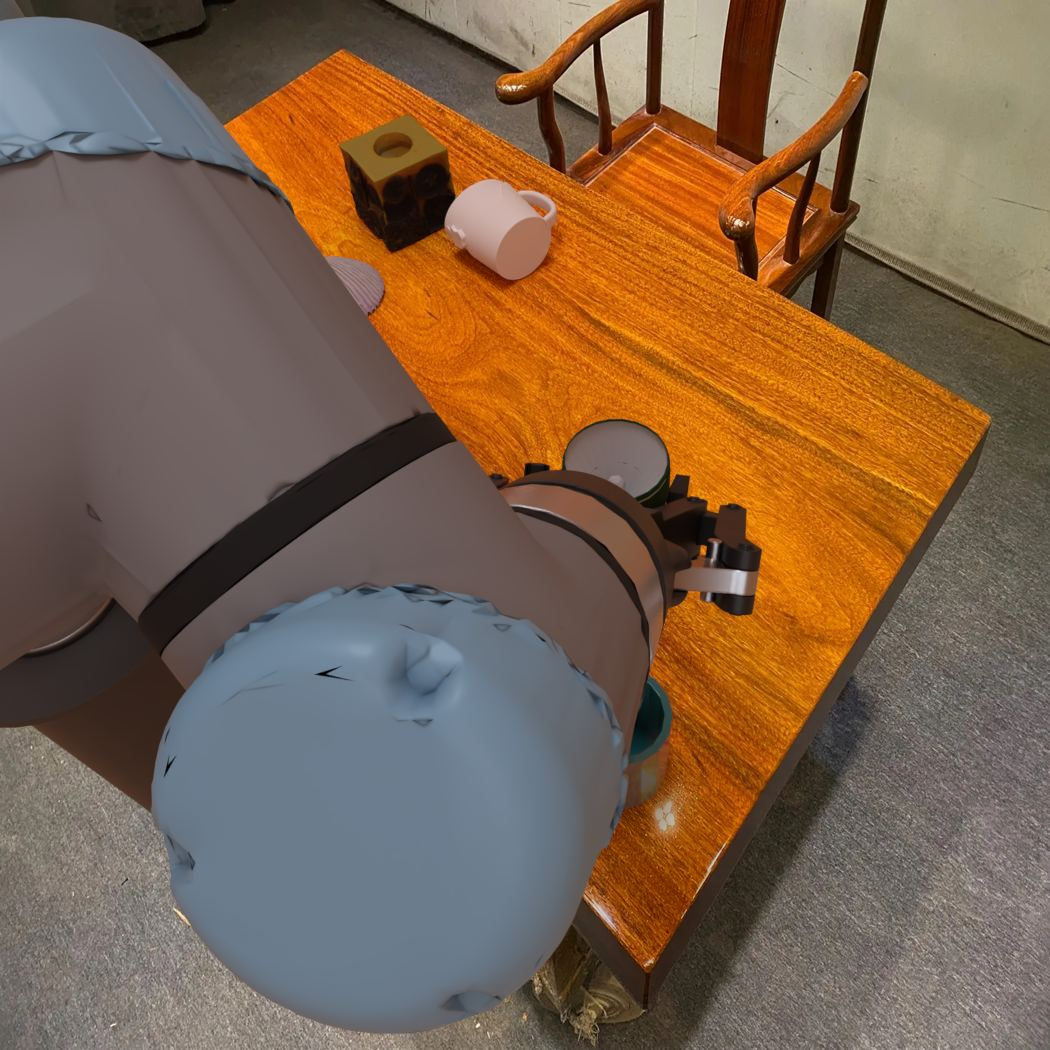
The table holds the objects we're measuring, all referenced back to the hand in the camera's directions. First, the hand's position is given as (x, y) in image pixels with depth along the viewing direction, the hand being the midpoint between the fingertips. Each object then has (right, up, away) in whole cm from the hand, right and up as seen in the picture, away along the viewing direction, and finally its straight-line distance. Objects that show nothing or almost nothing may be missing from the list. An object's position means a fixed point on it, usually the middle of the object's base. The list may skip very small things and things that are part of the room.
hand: (627, 492), depth 51 cm
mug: (-7, +31, +61) cm, 69 cm away
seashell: (-27, +25, +60) cm, 70 cm away
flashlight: (0, -10, +8) cm, 13 cm away
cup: (+2, -21, +25) cm, 32 cm away
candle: (-21, +37, +67) cm, 79 cm away
